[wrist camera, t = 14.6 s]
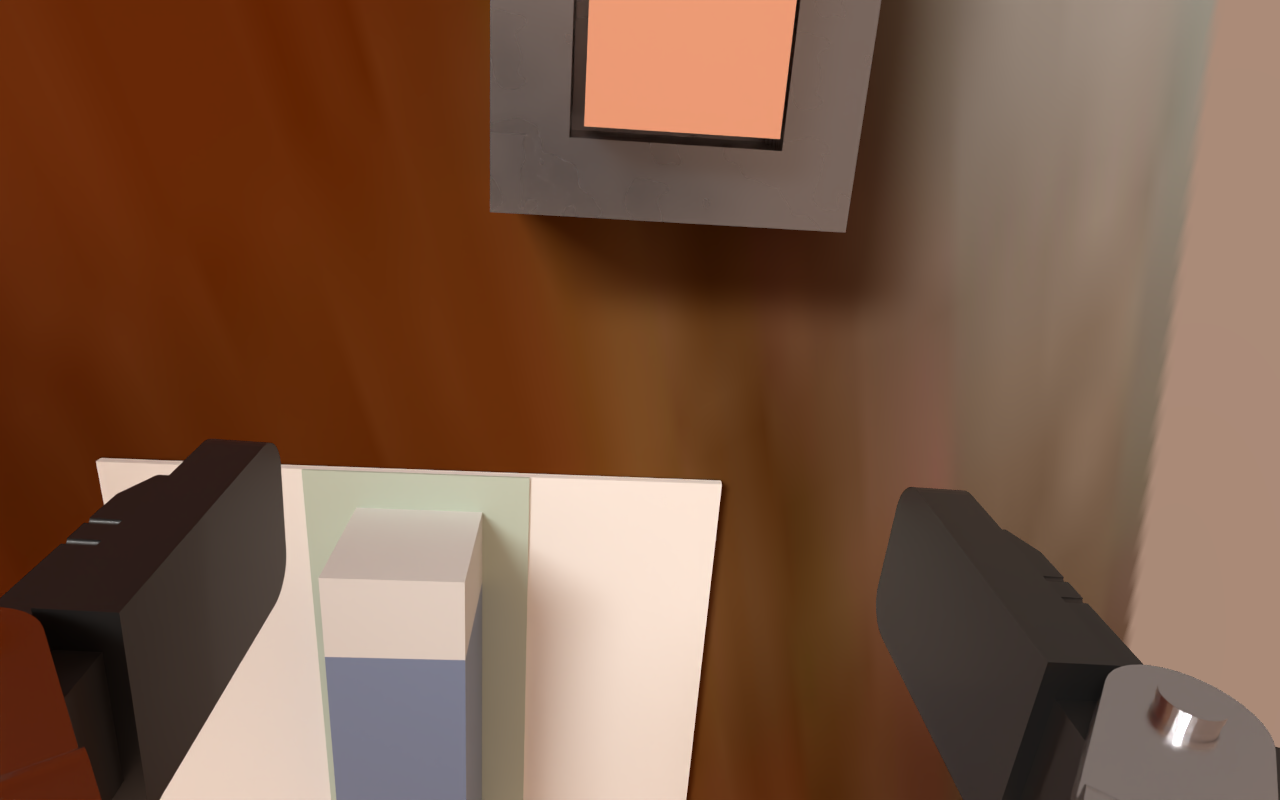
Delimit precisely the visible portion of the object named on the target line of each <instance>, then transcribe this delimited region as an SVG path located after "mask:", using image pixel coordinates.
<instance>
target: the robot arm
mask: <svg viewBox="0 0 1280 800" xmlns="http://www.w3.org/2000/svg"><path fill="white" fill-rule="evenodd" d="M285 569H286V539H285V523H284V507H283V491H282V475H281V462H280V456H279V452H278V449H277V447H276V446H275V445H274V444H273V443H266V442H251V441H236V440H221V439H208V440H206V441H204V442H203V443H202V444H201V445H200V446H199V447H198V448H197V449H196V450H195V451H194V452H193V453H192V454H191V455H189V456H188V457H187V458H186V459H185V460H184V461H183V462H182V463H181V464H180V465H179V466H178V467H177V468H176V469H175V470H174V471H173V472H172V473H171V474H170V475H156V476H153V477H151V478H149V479H147V480H145V481H143V482H141V483H139V484H136V485H134V486H132V487H130V488H128V489H126V490H124V491H122V492H120V493H117V494H116V495H115V496H114V497H113V498H111V499H110V500H109V501H108V502H107V503H106V504H105V505H104V506H103V507H101V508H100V509H99V510H98V511H97V512H96V513H95V514H94V515H92V516H91V517H90V521H89V523H84V524H82V525H81V526H80V527H79V528H78V529H77V530H76V531H75V532H73V533H72V534H71V535H70V536H69V537H68V538H67V542H66V544H60V545H59V546H58V547H57V548H56V549H54V550H53V551H52V552H51V553H50V554H49V555H48V556H47V557H46V558H44V559H43V560H42V561H41V562H40V563H39V564H38V565H37V566H36V567H34V568H33V569H32V570H31V571H30V572H29V573H28V574H27V575H25V576H24V577H23V578H22V579H21V580H20V581H19V582H18V583H17V584H15V585H14V586H13V587H12V588H11V589H10V590H9V591H8V592H6V593H5V594H4V595H3V596H2V597H1V598H0V800H160V798H161V797H162V795H163V793H164V791H165V790H166V788H167V786H168V785H169V783H170V781H171V780H172V778H173V776H174V775H175V773H176V771H177V770H178V768H179V766H180V764H181V763H182V761H183V759H184V758H185V756H186V754H187V753H188V751H189V749H190V748H191V746H192V744H193V743H194V741H195V739H196V738H197V736H198V734H199V732H200V731H201V729H202V727H203V726H204V724H205V722H206V721H207V719H208V717H209V716H210V714H211V712H212V711H213V709H214V707H215V705H216V704H217V702H218V700H219V699H220V697H221V695H222V694H223V692H224V690H225V689H226V687H227V685H228V684H229V682H230V680H231V679H232V677H233V675H234V673H235V672H236V670H237V668H238V667H239V665H240V663H241V662H242V660H243V658H244V657H245V655H246V653H247V652H248V650H249V648H250V646H251V645H252V643H253V641H254V640H255V638H256V636H257V635H258V633H259V631H260V630H261V628H262V626H263V625H264V623H265V621H266V620H267V618H268V616H269V614H270V613H271V611H272V609H273V608H274V606H275V604H276V602H277V600H278V598H279V595H280V592H281V589H282V585H283V581H284V576H285ZM1082 599H1083V598H1082V597H1081V596H1080V595H1079V594H1078V593H1077V591H1076V590H1075V589H1074V588H1073V587H1072V586H1071V585H1070V584H1069V583H1068V582H1064V581H1063V576H1062V575H1061V574H1060V573H1059V572H1058V571H1057V570H1056V568H1055V567H1054V566H1053V565H1052V564H1051V563H1050V562H1049V561H1048V560H1047V559H1046V558H1045V556H1044V555H1043V554H1042V553H1041V552H1039V551H1038V550H1036V549H1035V548H1033V547H1032V546H1030V545H1029V544H1027V543H1025V542H1024V541H1022V540H1021V539H1019V538H1018V537H1016V536H1015V535H1013V534H1011V533H1010V532H1008V531H1007V530H1002V529H1001V528H1000V527H999V526H998V525H997V524H996V522H995V521H994V520H993V519H992V518H991V517H990V516H989V514H988V513H987V512H986V511H985V510H984V509H983V508H982V506H981V505H980V504H979V503H978V502H977V501H976V500H975V498H974V497H973V496H972V495H971V494H970V493H969V492H967V491H962V490H947V489H932V488H917V487H909V488H907V489H906V490H905V491H904V492H903V493H902V495H901V497H900V499H899V501H898V505H897V508H896V513H895V517H894V521H893V525H892V530H891V534H890V538H889V542H888V546H887V551H886V555H885V559H884V563H883V568H882V572H881V576H880V580H879V584H878V589H877V597H876V613H877V622H878V627H879V631H880V634H881V636H882V639H883V641H884V643H885V645H886V647H887V649H888V651H889V653H890V655H891V657H892V659H893V661H894V663H895V665H896V667H897V669H898V671H899V673H900V675H901V677H902V679H903V681H904V683H905V685H906V687H907V689H908V691H909V693H910V695H911V697H912V699H913V701H914V703H915V705H916V707H917V709H918V711H919V713H920V715H921V717H922V719H923V721H924V723H925V725H926V727H927V729H928V731H929V733H930V735H931V737H932V739H933V741H934V743H935V745H936V747H937V748H938V750H939V752H940V754H941V756H942V758H943V760H944V762H945V764H946V766H947V768H948V770H949V772H950V774H951V776H952V778H953V780H954V782H955V784H956V786H957V788H958V790H959V792H960V794H961V796H962V798H963V800H1280V748H1278V747H1275V745H1274V741H1273V739H1272V737H1271V735H1270V733H1269V732H1268V730H1267V729H1266V727H1265V726H1264V725H1263V723H1262V722H1260V720H1259V719H1258V718H1257V717H1256V716H1255V715H1254V714H1253V713H1251V712H1250V711H1249V710H1248V709H1246V708H1245V707H1244V706H1243V705H1242V704H1240V703H1239V702H1238V701H1236V700H1235V699H1233V698H1232V697H1230V696H1229V695H1227V694H1226V693H1224V692H1222V691H1221V690H1219V689H1217V688H1215V687H1213V686H1211V685H1209V684H1207V683H1205V682H1203V681H1201V680H1199V679H1196V678H1194V677H1192V676H1189V675H1186V674H1183V673H1180V672H1178V671H1174V670H1170V669H1166V668H1163V667H1157V666H1151V665H1143V664H1142V663H1141V661H1140V660H1139V659H1138V658H1137V657H1136V656H1135V655H1134V654H1133V653H1132V652H1131V650H1130V649H1129V648H1128V647H1127V646H1126V645H1125V644H1124V643H1123V642H1122V641H1121V640H1120V638H1119V637H1118V636H1117V635H1116V634H1115V633H1114V632H1113V631H1112V630H1111V629H1110V628H1109V626H1108V625H1107V624H1106V623H1105V622H1104V621H1103V620H1102V619H1101V618H1100V617H1099V616H1098V614H1097V613H1096V612H1095V611H1094V610H1093V609H1092V608H1091V607H1090V606H1089V605H1088V604H1086V603H1083V602H1082Z"/></svg>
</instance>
